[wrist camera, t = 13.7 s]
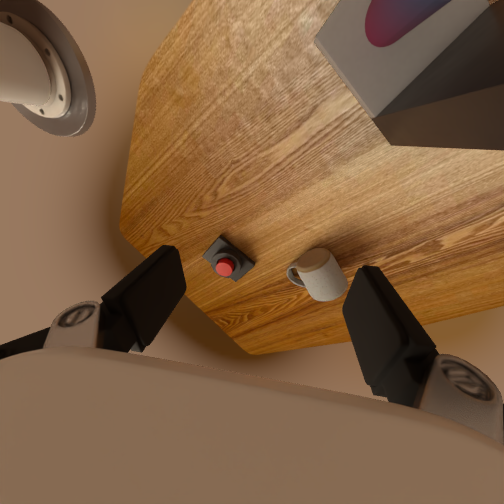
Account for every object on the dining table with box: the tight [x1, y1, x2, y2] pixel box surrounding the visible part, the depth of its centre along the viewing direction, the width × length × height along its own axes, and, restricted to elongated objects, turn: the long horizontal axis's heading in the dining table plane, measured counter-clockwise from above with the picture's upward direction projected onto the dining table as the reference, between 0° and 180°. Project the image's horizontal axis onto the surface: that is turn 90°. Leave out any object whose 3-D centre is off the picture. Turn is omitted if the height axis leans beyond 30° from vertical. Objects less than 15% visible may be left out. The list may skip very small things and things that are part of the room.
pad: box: [202, 235, 255, 282], centre depth 41 cm, size 10×7×3 cm
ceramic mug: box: [287, 248, 348, 301], centre depth 36 cm, size 11×8×8 cm
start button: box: [216, 258, 234, 276], centre depth 39 cm, size 4×4×2 cm
